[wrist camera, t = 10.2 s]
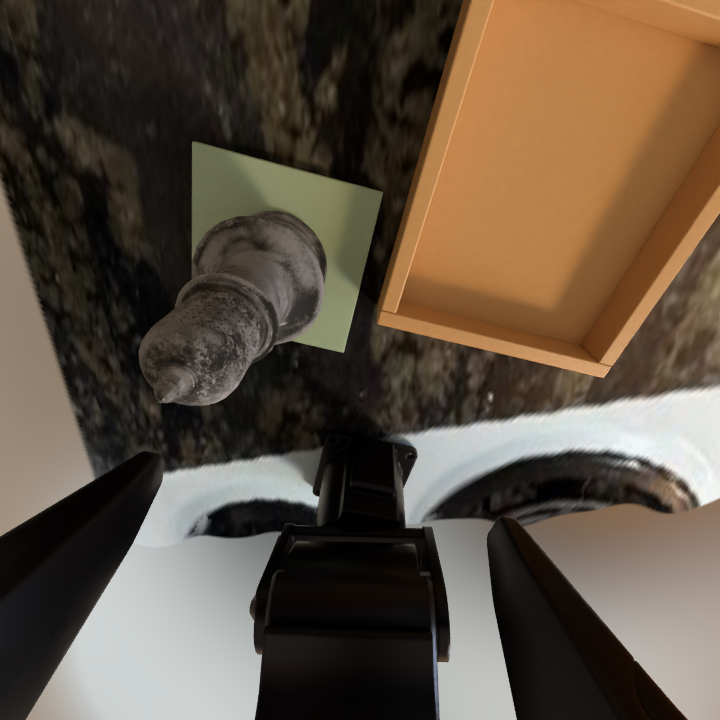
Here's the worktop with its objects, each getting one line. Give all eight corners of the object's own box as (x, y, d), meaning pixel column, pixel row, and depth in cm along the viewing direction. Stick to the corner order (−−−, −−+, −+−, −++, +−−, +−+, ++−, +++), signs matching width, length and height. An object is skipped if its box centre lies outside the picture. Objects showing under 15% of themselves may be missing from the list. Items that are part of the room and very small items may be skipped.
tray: (582, 356, 22) (603, 378, 20) (376, 306, 21) (376, 324, 19) (782, 44, 14) (850, 27, 12) (479, -57, 13) (497, -95, 11)
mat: (343, 349, 22) (343, 352, 22) (194, 315, 21) (191, 318, 21) (383, 191, 18) (383, 192, 17) (195, 141, 17) (191, 141, 17)
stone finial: (204, 213, 18) (-28, 303, 8) (320, 195, 17) (234, 265, 7) (241, 321, 21) (108, 491, 11) (341, 308, 20) (304, 477, 10)
